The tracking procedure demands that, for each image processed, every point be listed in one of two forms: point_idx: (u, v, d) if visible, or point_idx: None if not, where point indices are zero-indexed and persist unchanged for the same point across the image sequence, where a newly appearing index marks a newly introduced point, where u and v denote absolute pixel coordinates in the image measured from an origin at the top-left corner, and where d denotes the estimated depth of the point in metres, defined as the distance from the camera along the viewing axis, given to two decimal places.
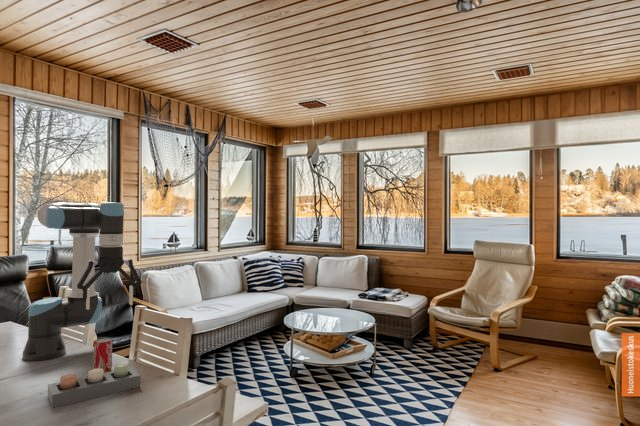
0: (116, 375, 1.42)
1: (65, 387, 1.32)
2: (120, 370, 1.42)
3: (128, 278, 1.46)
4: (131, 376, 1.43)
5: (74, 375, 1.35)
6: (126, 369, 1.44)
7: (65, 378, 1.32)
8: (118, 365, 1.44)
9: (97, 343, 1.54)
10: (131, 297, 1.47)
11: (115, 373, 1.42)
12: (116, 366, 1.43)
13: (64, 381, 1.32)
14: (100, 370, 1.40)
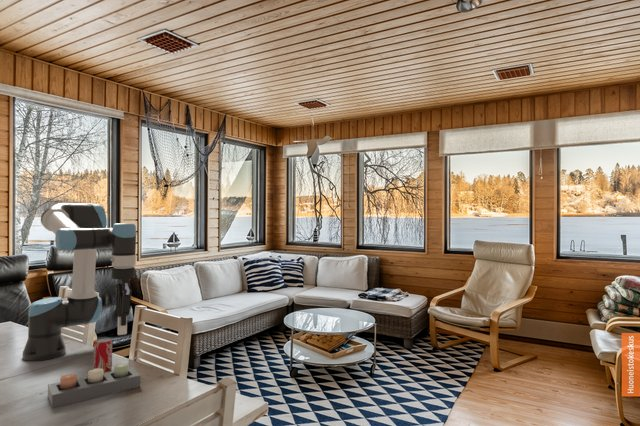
0: (116, 375, 1.42)
1: (65, 387, 1.32)
2: (120, 370, 1.42)
3: (120, 305, 1.43)
4: (131, 376, 1.43)
5: (74, 375, 1.35)
6: (126, 369, 1.44)
7: (65, 378, 1.32)
8: (118, 365, 1.44)
9: (97, 343, 1.54)
10: None
11: (115, 373, 1.42)
12: (116, 366, 1.43)
13: (64, 381, 1.32)
14: (100, 370, 1.40)
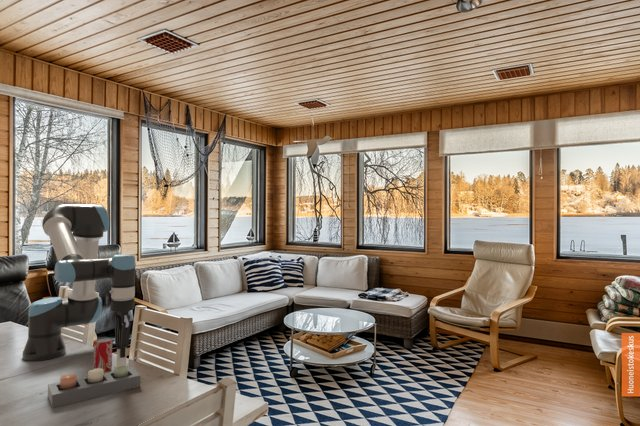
0: (116, 375, 1.42)
1: (65, 387, 1.32)
2: (120, 370, 1.42)
3: (119, 337, 1.43)
4: (131, 376, 1.43)
5: (74, 375, 1.35)
6: (126, 370, 1.44)
7: (65, 378, 1.32)
8: None
9: (97, 343, 1.54)
10: (117, 359, 1.43)
11: (115, 374, 1.42)
12: (116, 367, 1.43)
13: (64, 381, 1.32)
14: (100, 370, 1.40)
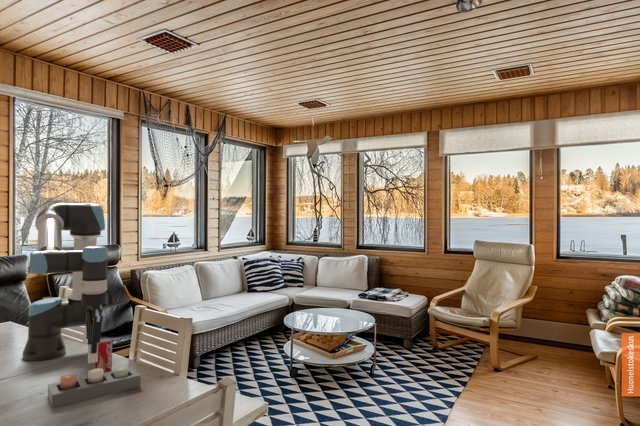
0: (116, 378, 1.42)
1: (65, 387, 1.32)
2: (120, 373, 1.42)
3: (90, 332, 1.37)
4: (131, 376, 1.43)
5: (74, 375, 1.35)
6: (126, 373, 1.44)
7: (65, 378, 1.32)
8: (118, 369, 1.44)
9: None
10: (88, 354, 1.37)
11: (115, 377, 1.42)
12: (116, 370, 1.43)
13: (64, 381, 1.32)
14: (100, 370, 1.40)
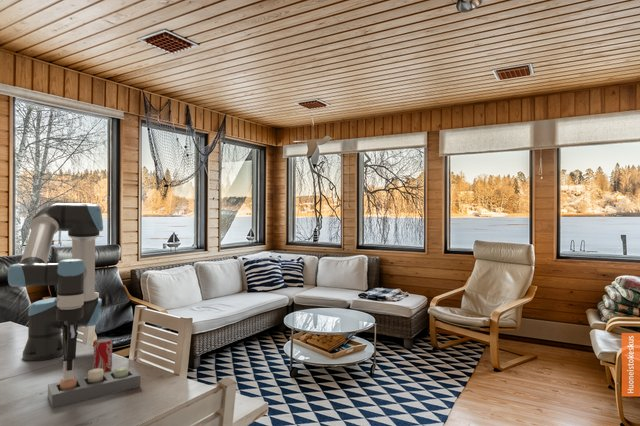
0: (116, 378, 1.42)
1: None
2: (120, 373, 1.42)
3: (65, 349, 1.32)
4: (131, 376, 1.43)
5: (74, 378, 1.35)
6: (126, 373, 1.44)
7: (65, 381, 1.32)
8: (118, 369, 1.44)
9: (97, 343, 1.54)
10: None
11: (115, 377, 1.42)
12: (116, 370, 1.43)
13: (64, 385, 1.32)
14: (100, 370, 1.40)
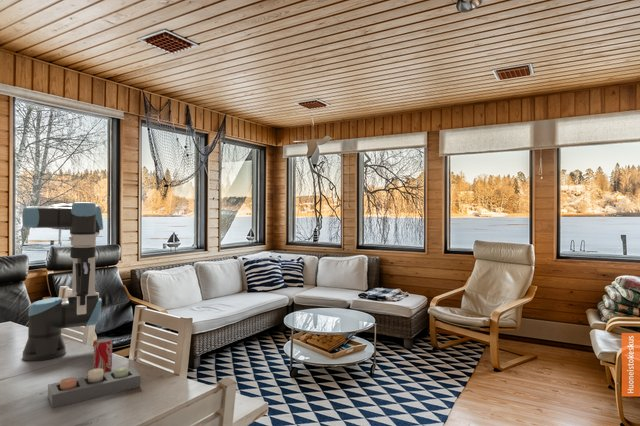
0: (116, 378, 1.42)
1: None
2: (120, 373, 1.42)
3: (78, 285, 1.41)
4: (131, 376, 1.43)
5: (74, 379, 1.35)
6: (126, 373, 1.44)
7: (65, 382, 1.32)
8: (118, 369, 1.44)
9: (97, 343, 1.54)
10: None
11: (115, 377, 1.42)
12: (116, 370, 1.43)
13: (64, 385, 1.32)
14: (100, 370, 1.40)
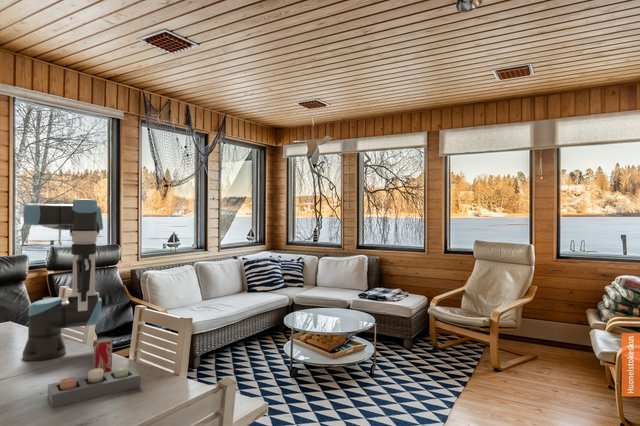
0: (116, 378, 1.42)
1: None
2: (120, 373, 1.42)
3: (80, 281, 1.42)
4: (131, 376, 1.43)
5: (74, 379, 1.35)
6: (126, 373, 1.44)
7: (65, 382, 1.32)
8: (118, 369, 1.44)
9: (97, 343, 1.54)
10: None
11: (115, 377, 1.42)
12: (116, 370, 1.43)
13: (64, 385, 1.32)
14: (100, 370, 1.40)
